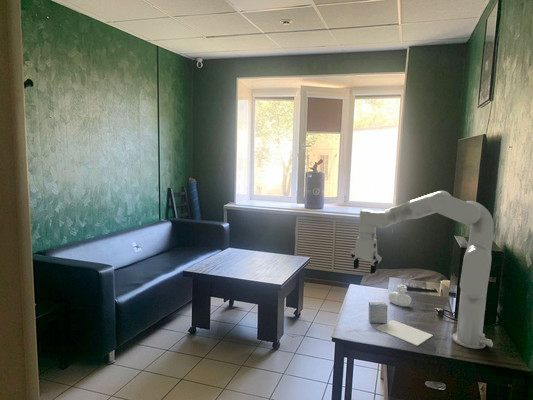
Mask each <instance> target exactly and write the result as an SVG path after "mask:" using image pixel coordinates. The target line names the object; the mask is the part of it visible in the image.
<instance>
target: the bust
mask: <svg viewBox="0 0 533 400" xmlns="http://www.w3.org/2000/svg"><path fill="white" fill-rule="evenodd" d="M395 286H396V288H397V289H396V290H397V291H390V292H389V293H388V300H389V302H390V303H392V304H393V305H396V306H400V307H409V305H410V304H411V302H412V297H411V296H409V294H407V293H405V292H407V289H408V287H407V286H406V285H405V284H396V285H395Z"/></svg>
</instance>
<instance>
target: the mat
mask: <svg viewBox="0 0 533 400" xmlns="http://www.w3.org/2000/svg"><path fill="white" fill-rule="evenodd" d="M375 330H378V331H380V332H383V333H384V334H386V335H389V336H392V337H394V338H396V339H398V340H402V341H404V342H406V343H409V344H411V345H414V346H416V347H418V346H420V345H422V344H423V343H424V342H426V341H428V340H429V339H430V338H432V337H434V334H431V333H429V332H426V331H423V330H421V329H418V328H415V327H412V326H410V325H408V324H404V323H402V322H399V321H397V320H394V319H391V320H389V321H387V323H382V324H381V325H379V326H378V327H376V328H375Z"/></svg>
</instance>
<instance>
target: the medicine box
mask: <svg viewBox="0 0 533 400" xmlns="http://www.w3.org/2000/svg"><path fill="white" fill-rule="evenodd" d="M388 307H389V306H388V305H387V303H386V302H385V301H383V302H382V301H368V320H369V323H370V324H385V323H387V322H388V309H389V308H388Z"/></svg>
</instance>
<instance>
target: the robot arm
mask: <svg viewBox="0 0 533 400" xmlns="http://www.w3.org/2000/svg"><path fill="white" fill-rule="evenodd" d="M434 214H439V215H442V216H443V217H446V218H448V219H452V220H454V221H456V222H459V223H461V224H464V225H469V234H468V242H467V247H466V249H465V253H464V255H463V261H462V266H461V274H460V280H459V288H460V295H459V303H458V314H457V324H456V325H457V326H456V332H454V333H453V334H452V336H451V340H452V341H454V342H455V343H456V344H458V345H460V346H462V347H464V348H469V349H473V350H474V349H475V350H478V349H479V350H480V349H484V348H485V347H486V346H487V347H490V348H492V347H493V346H494V342H493V341H492V339H489V338H486V337H485V336H486V335H485V333H483V332H484V323H485V322H484V321H485V311H486V304H487V303H486V302H487V293H488V286H489V280H490V273H491V269H492V267H491V266H492V247H493V243H494V242H493V239H494V232H495V231H494V229H495V227H494V226H495V225H494V220H493V217H492V215H491V212H490V211H489V210H488V209H487V208H486V207H485V206H484V205H482V204H481V203H479V202H477V201H475V200H467V201H466V200H462V199H460V198H456V197H454V196H452V194H450V193H449V192H448V191H446V190H438V191H435V192H432V193H429V194H426V195H422V196H421V197H417V198H414V199H411V200H408V201H406V202H404V203H402V204H399V205H395V206H392V207H390V208H386V209H384V210H382V211H376V210H374V209H370V208H369V209H367V208H366V209H361V210H360V211H359V220H358V221H359V223H358V224H359V225H358V236H357V238H356V241H355V246H354V248H352V249H350V250H349V252H350V255H351V258H352V261H353V269H354V270H356V269H358V268H359V266H360V260H359V259H361V260H366V261H369V262H370V264H371V265H370V274H371V275H373V274H375V273H376V271H377V266H378V264H380V263H381V261H382V259H383V258H382V256H381V255H379V253H378V241H377V238H378V236H377V234H376V228H379V229H386V228H389V226H391V225H394V224H397V223H400V222H403V221H407V220H416V219H421V218H424V217H426V216H430V215H434Z"/></svg>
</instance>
